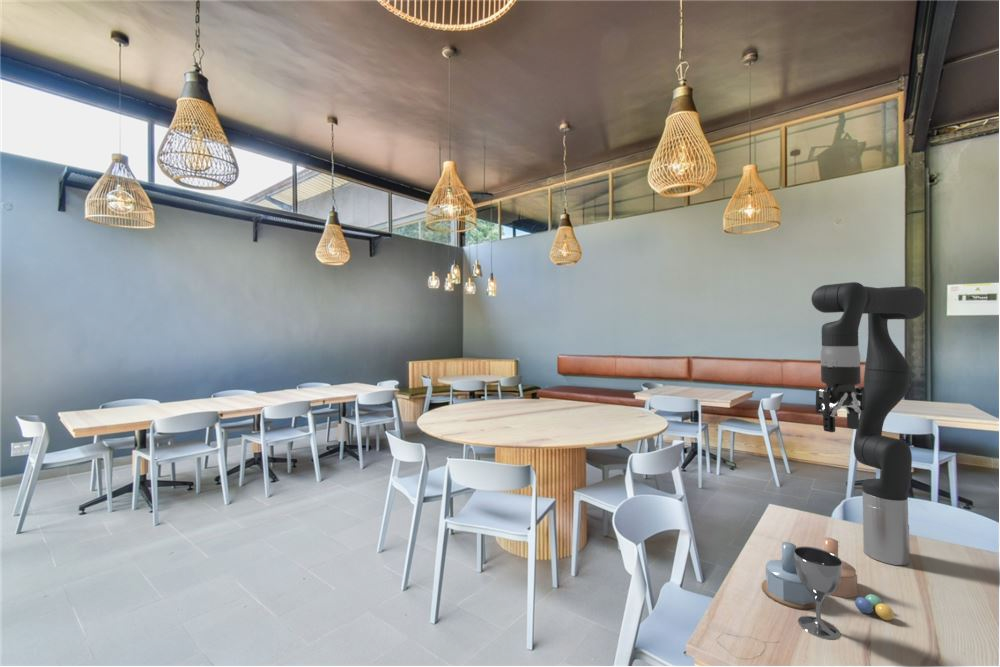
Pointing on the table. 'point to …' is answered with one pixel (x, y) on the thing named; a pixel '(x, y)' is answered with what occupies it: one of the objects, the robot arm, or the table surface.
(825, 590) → the wine glass
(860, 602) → the marble inkblue
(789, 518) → the table surface
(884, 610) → the marble amber
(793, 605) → the disc
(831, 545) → the terracotta cloche
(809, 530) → the table surface
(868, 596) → the marble seagreen
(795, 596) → the slate cloche
